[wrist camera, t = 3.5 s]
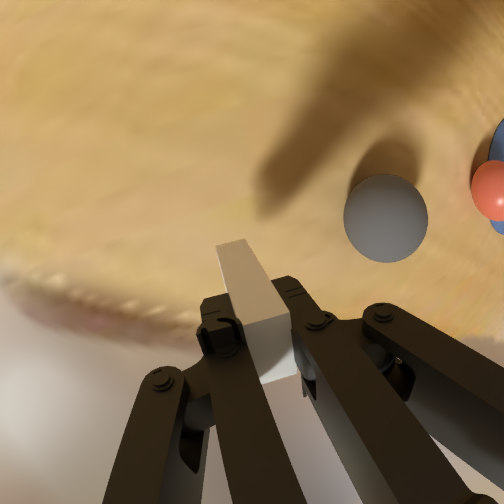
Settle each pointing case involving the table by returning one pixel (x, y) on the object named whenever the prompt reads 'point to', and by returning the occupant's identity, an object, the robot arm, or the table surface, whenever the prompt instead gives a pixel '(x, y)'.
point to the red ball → (489, 189)
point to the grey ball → (385, 218)
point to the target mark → (499, 150)
